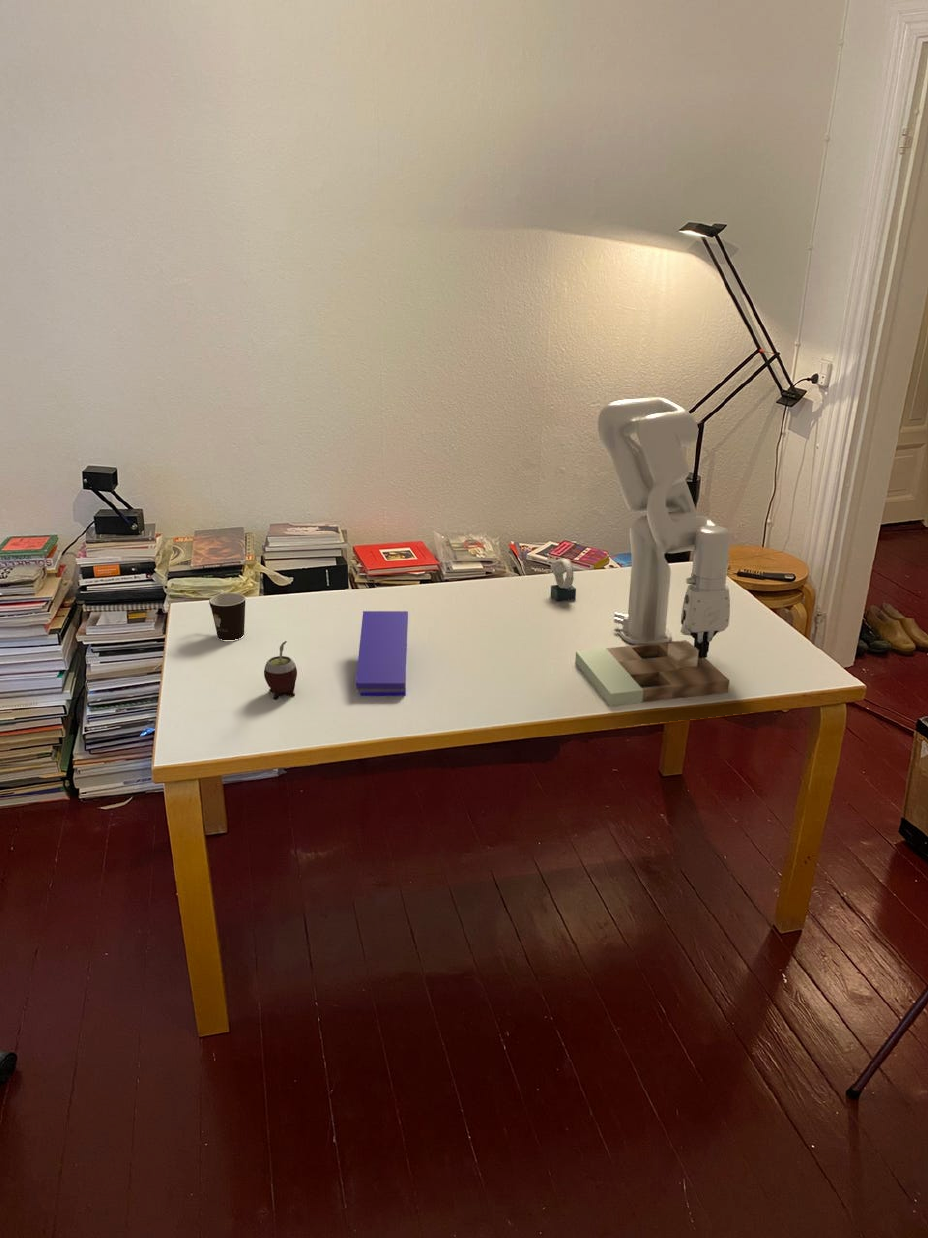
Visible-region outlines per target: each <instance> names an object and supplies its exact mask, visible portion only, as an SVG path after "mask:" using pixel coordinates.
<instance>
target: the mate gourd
mask: <svg viewBox="0 0 928 1238" xmlns="http://www.w3.org/2000/svg"><path fill="white" fill-rule="evenodd" d="M286 643H287V640H285V641H284V642H282V643H281V644H280V646H279V655H277V656H274V657H273V656H272V657H271V658H269V659H268V660H267V662H266V663H265V666H264V671H263V676H264V679H265V682H266V684H267V686H268V687H269V689H268V691H269V693H273V695H274V696H273V699H272V700H275V701H277V700H278V699H279V698H281V697H282V696H287V697H292V698H293V697H295V696H296V693H294V691H295V687H296V680H297V676H298V670H297V669H298V668H297V666H296V663H295V662H294V660H293V659H292V658H290V657H288V656H284V655H283V651H284V648H285V647H284V646H285V645H286Z"/></svg>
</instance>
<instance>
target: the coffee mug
mask: <svg viewBox="0 0 928 1238" xmlns="http://www.w3.org/2000/svg"><path fill="white" fill-rule="evenodd" d="M208 604H209V606H210V610H211V615H212V617H213V622H214V626H215V627H214V628H215V632H216V634H217V635H216V636H217V639H218V638H219V639H222V640H235V639H239V638H241V637H242V636H243V635H244V636H245V625H246V624H245V622H246V620H245V619H246V596H245V594H242V593H239V592H224V593H223V592H222V593H218V594H215V595H213V596H211V597H210V598H209V601H208ZM219 639H218V640H219Z"/></svg>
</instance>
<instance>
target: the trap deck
mask: <svg viewBox="0 0 928 1238" xmlns="http://www.w3.org/2000/svg"><path fill="white" fill-rule="evenodd" d="M679 642H688V640H675V641H674V640H673V641H669V642H663V643H653V644H644V645H635V644H633V645H628V646H627V645H626V646H617V647H608V648H607V647H606V649H607V650H608V651H609V652H610V653H611V655H612V656H613V657H614V658H615V659H616V660H617V661H618V662H619V663H620V665H621V666H622V667H623V668H624V669H625V670H626V671H627V672H628V673H629V675H630V676H631V677H632V678H633V679H634V680H635V681H636V682H637V684H638V685H639V686H640V687H641V688H642V689H643V700H642V702H641V703H647V702H656V701H657V702H658V701H663V700H664V701H665V700H674V699H683V698H691V697H699V696H708V695H710V696H711V695H715V694H717V695H718V694H725V693H729V689H730V688H729V687H730V682H731V681H730V679H729V678H728V677H727V676H726V675H725V674H723V673H722V672H721V670H720V669H718V668H717V667H716V666H715V665H714V664H713V663H711V662H710V660H709V659H708V658H704V657H703V658H699V657H698V661H697V666H695V667H687V668H679V669H677V668H676V667H675V666H673V665H672V664H671V663H670V662H669V661H668V660H667V653H668V644H671V643H679Z"/></svg>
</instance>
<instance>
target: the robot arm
mask: <svg viewBox="0 0 928 1238" xmlns="http://www.w3.org/2000/svg"><path fill="white" fill-rule="evenodd" d="M597 431H598V437H599V440H600V443H601V445H602V447H603V449H604V451H605V452H606V454H607V456H608V458H609V460H610V462H611V463H612V467H613V469H614V473H615V476H616V479H617V483H618V485H619V486H618V487H620V491H621V495H622V498H623V500H624V503H625V505H626V507H627V508H628V510H629V511H630V512H633V513H646V515H643V516H640V517H638V518H637V519H635V520H634V521H633V522H632V524H631V526H630V529H629V543H630V548H631V549H630V550H631V551H630V552H631V567H630V568H631V569H630V584H629V585H630V586H629V595H628V597H629V598H628V609H627V610H628V611H627V614H625V613H621V612H617V611H616V612H615V613H614V616H613V622H614V623H615V624H618V625H621V626H622V627H621V628H620V631H619V633H620V634H619V635H620V637H621V638H622V639H623V640H624V641H625V642H628V643H630V644H633V645H644V644H653V643H663V642H671V640H672V631H670V629H668V628H667V619H668V611H669V610H668V609H669V599H670V586H671V574H672V572H671V566H670V565H669V563H668V560H666V557H665V554H676V553H683V552H688V551H689V552H690V551H693V559H692V570H691V573H690V577H686V579H685V582H686V584H687V585H688V586H687V588H686V592H685V595H684V597H683V603H682V609H681V615H680V624H681V625H682V626H681V628H680V633H681V634H682V635H684V636H688V637H689V636H690V637H692V638H693V639H694V642H693V646H694V647H695V648H697V649H698V650H699V652H698V657H699V658H703V657H704V658H706V659H708V658H707V657H708V654H709V648H710V642H712V641H713V638H714V637H715V636H716V635H717V634H718V633H720V632H724V631H725V630H726V629H728V627H729V625H730V616H731V614H730V613H731V599H730V588H729V586H727V585H726V584H727V574H728V566H729V556H730V549H731V548H730V547H731V539H732V534H731V532H730V530H729V529H728V528H726V527H723V526H720V525H718V524H717V523H716V522H715V521H714V520H713V519H711V518H710V517H708V516H706V515H698V512H697V508H696V506H695V503H694V501H693V497H692V493H691V491H690V490H691V489H689V485H688V483H687V481H686V479H687V478H688V477H689V475H690V467H689V465H688V463H687V459H686V457H685V453H684V451H683V449H682V448H687V447H691V446H692V445H694V443H696V441H697V439H698V436H699V427H698V423H697V421H696V418H695V417H694V416H693V415H692V414H691V413H690V412H689V411H688V410H687V409H685V408H684V407H681V406H679V405H677V403H674V402H672V401H670V400H669V399H666V398H664V397H658V396H656V397H655V396H653V397H644V398H643V397H642V398H627V399H621V400H615V401H611V402H610V403H607V404H606V405H605V406H603V407H602V409H601V410H600V412H599V415H598V420H597ZM634 435H637V438H638V441H639V443H638V442H637V441H635V440H634V439H633V438H632V437H631V436H634Z"/></svg>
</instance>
